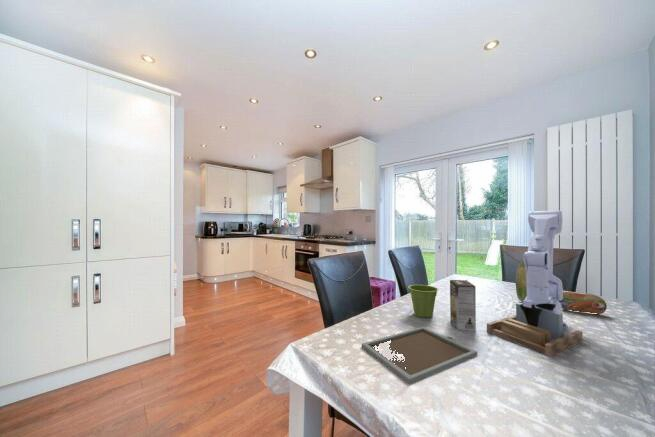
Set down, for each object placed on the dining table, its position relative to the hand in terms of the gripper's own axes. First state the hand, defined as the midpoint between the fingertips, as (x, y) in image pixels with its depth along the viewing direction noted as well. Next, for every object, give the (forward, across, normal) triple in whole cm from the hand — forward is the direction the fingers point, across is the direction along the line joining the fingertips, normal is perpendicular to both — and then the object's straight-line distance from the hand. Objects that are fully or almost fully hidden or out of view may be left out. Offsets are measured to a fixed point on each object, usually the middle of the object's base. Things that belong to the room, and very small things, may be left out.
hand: (538, 325), depth 82 cm
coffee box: (+3, -17, +16) cm, 24 cm away
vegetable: (+3, +35, +20) cm, 40 cm away
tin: (+3, +43, +3) cm, 43 cm away
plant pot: (+3, -22, +30) cm, 37 cm away
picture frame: (+4, -45, +10) cm, 46 cm away
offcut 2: (+3, -7, 0) cm, 8 cm away
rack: (+3, -4, 0) cm, 5 cm away
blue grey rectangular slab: (+3, 0, 0) cm, 3 cm away
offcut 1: (+3, -10, 0) cm, 11 cm away
